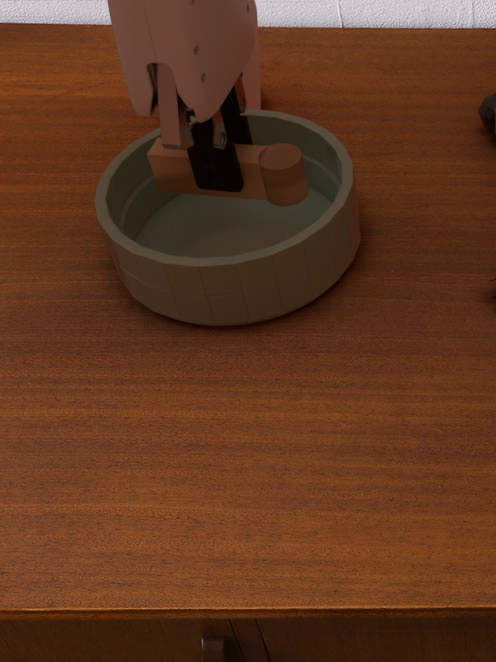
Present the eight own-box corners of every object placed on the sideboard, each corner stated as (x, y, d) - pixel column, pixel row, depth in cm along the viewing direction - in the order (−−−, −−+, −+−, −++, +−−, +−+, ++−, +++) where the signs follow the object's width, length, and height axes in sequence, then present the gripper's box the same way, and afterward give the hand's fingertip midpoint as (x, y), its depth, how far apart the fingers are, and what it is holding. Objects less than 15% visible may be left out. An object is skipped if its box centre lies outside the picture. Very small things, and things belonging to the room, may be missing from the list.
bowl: (77, 316, 69) (49, 250, 65) (171, 163, 81) (153, 99, 77) (326, 343, 68) (314, 278, 63) (384, 184, 80) (378, 120, 75)
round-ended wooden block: (156, 196, 70) (143, 158, 68) (171, 170, 72) (160, 132, 70) (302, 208, 69) (294, 170, 67) (313, 182, 71) (307, 144, 69)
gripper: (151, -147, 62) (214, 108, 75) (32, -27, 51) (131, 246, 65) (268, -140, 61) (311, 116, 75) (173, -17, 51) (243, 257, 64)
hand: (227, 174), depth 70 cm, fingers closed on round-ended wooden block, 2 cm apart
